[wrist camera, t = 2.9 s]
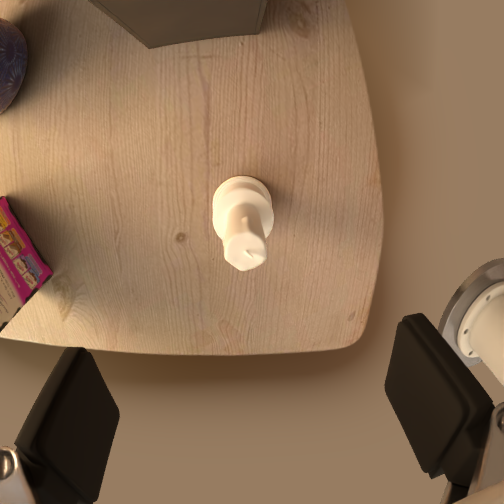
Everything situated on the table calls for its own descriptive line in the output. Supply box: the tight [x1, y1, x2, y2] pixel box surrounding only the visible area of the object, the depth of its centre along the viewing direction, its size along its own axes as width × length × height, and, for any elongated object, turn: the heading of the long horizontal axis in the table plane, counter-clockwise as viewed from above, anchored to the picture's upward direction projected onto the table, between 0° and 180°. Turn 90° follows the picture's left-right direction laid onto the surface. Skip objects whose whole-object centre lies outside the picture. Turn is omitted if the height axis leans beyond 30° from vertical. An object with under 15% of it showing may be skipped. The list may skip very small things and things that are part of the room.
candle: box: [212, 176, 274, 271], centre depth 23 cm, size 5×5×12 cm
